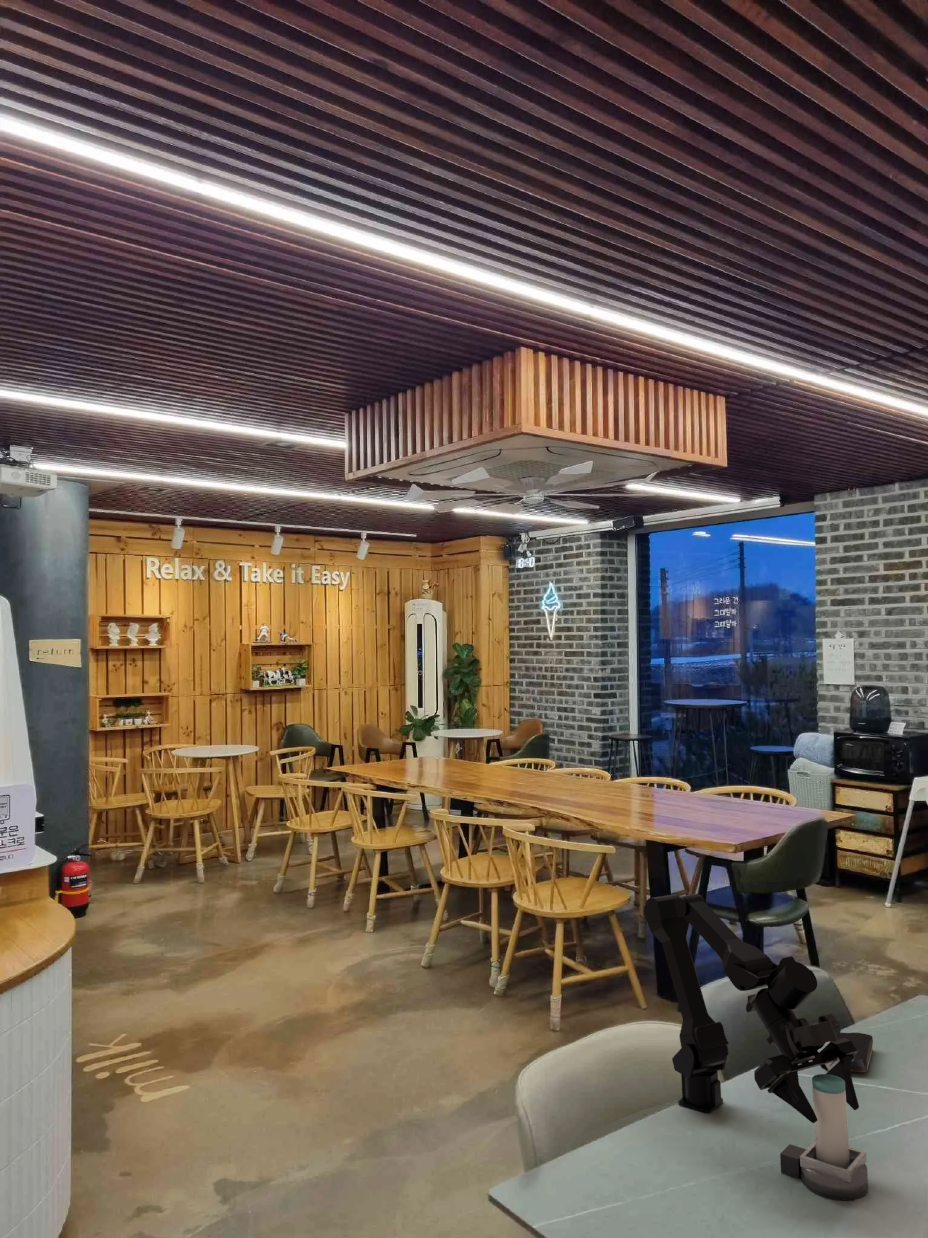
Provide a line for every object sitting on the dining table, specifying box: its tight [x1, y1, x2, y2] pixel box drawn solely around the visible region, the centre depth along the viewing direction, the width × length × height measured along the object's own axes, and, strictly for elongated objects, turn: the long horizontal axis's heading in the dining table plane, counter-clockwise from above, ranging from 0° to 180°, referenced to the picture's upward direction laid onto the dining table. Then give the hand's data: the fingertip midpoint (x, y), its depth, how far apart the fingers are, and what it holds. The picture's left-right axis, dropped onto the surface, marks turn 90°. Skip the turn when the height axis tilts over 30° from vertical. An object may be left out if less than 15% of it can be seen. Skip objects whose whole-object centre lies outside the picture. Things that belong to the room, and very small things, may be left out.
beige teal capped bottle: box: [811, 1073, 850, 1169], centre depth 149 cm, size 5×5×13 cm
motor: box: [779, 1140, 869, 1202], centre depth 149 cm, size 13×10×4 cm
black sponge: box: [829, 1032, 874, 1073], centre depth 196 cm, size 16×8×4 cm, turn 151°
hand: (836, 1115), depth 148 cm, fingers open, 9 cm apart
